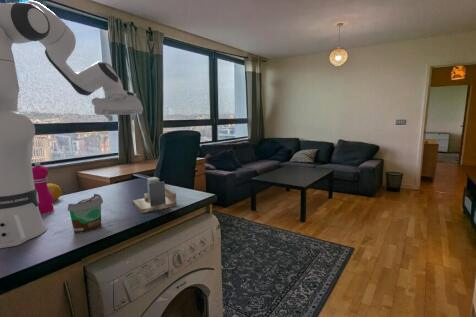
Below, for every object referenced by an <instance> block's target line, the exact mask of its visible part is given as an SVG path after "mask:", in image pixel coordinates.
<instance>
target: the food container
mask: <svg viewBox="0 0 476 317" xmlns="http://www.w3.org/2000/svg"><path fill="white" fill-rule="evenodd" d="M103 202H104V200H103V197H102V196H101V195H100V194H99V193H93V196H91V197H89V198H85V199H82V200H81V201H79V202H77V203H67V212H69V215H70V219H71V224H72V230H73V234H83V233H89V232H92V231H96V230H97V229H99V228H100V227H101V226H102V204H103Z"/></svg>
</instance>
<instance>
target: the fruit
mask: <svg viewBox="0 0 476 317" xmlns="http://www.w3.org/2000/svg"><path fill="white" fill-rule="evenodd" d="M47 187H48V190H49V191H50V193H51V194H52V196H53V198H54V201H53V202H55V201H57V200H59V198H60V197H61V195H62V189H61V187H60V186H59V185H57V184H55V183H50V182H49V183H48V182H47Z"/></svg>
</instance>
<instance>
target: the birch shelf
mask: <svg viewBox="0 0 476 317" xmlns="http://www.w3.org/2000/svg"><path fill="white" fill-rule="evenodd" d="M165 199H166V204H161V205H156V206H150V202H149V200H148V192H146V193H144V194H143V198H138V199H133V200H132V205H133V206H134V207H135V208H136V209H137V210H138V211H139V212H140V213H141V214H145V213H149V211H150V212H155V211H159V210H163V208H164V209H167V208H168V207H169V208H172V207H173V206H174V207H177V193H176V192H175V191H173V190H172V189H170V188H169V187H167V186H165ZM158 209H159V210H158ZM154 210H155V211H154Z"/></svg>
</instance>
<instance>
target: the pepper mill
mask: <svg viewBox="0 0 476 317" xmlns="http://www.w3.org/2000/svg"><path fill="white" fill-rule="evenodd" d="M32 172H33V179H34V186H35V188H36V189H37V192H38V199H39V205H38V207H39V211H40V214H41V215H44V213H45V214H48V212H49V213H51V212H53V211H54V209H55V208H54V205H53V204H54V202H55V201H54V198H53V196H52V194H51V193H50V191H49V190H48V187H47V184H48V181H49V180H48V175H49V170H48V168H47V167H45V166H43V165H41V162H40V161H36V162H35V163H34V166H32Z"/></svg>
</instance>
